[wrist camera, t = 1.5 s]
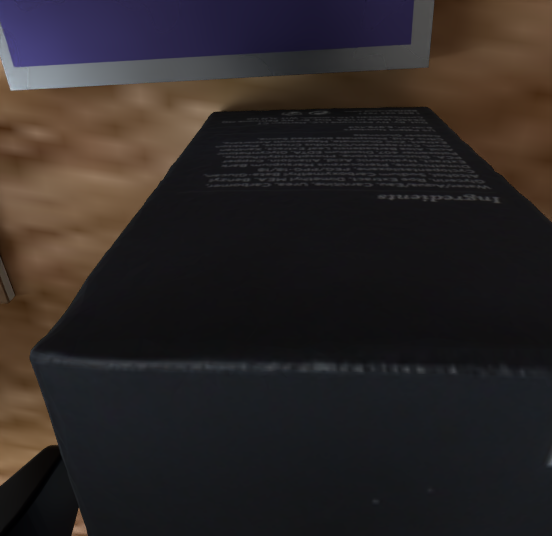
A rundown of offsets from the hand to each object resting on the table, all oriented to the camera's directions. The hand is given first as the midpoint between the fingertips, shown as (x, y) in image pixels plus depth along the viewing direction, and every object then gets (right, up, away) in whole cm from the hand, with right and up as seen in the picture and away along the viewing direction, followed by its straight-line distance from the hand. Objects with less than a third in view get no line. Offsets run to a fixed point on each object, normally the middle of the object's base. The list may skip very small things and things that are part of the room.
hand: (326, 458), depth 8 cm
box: (0, +3, +6) cm, 7 cm away
